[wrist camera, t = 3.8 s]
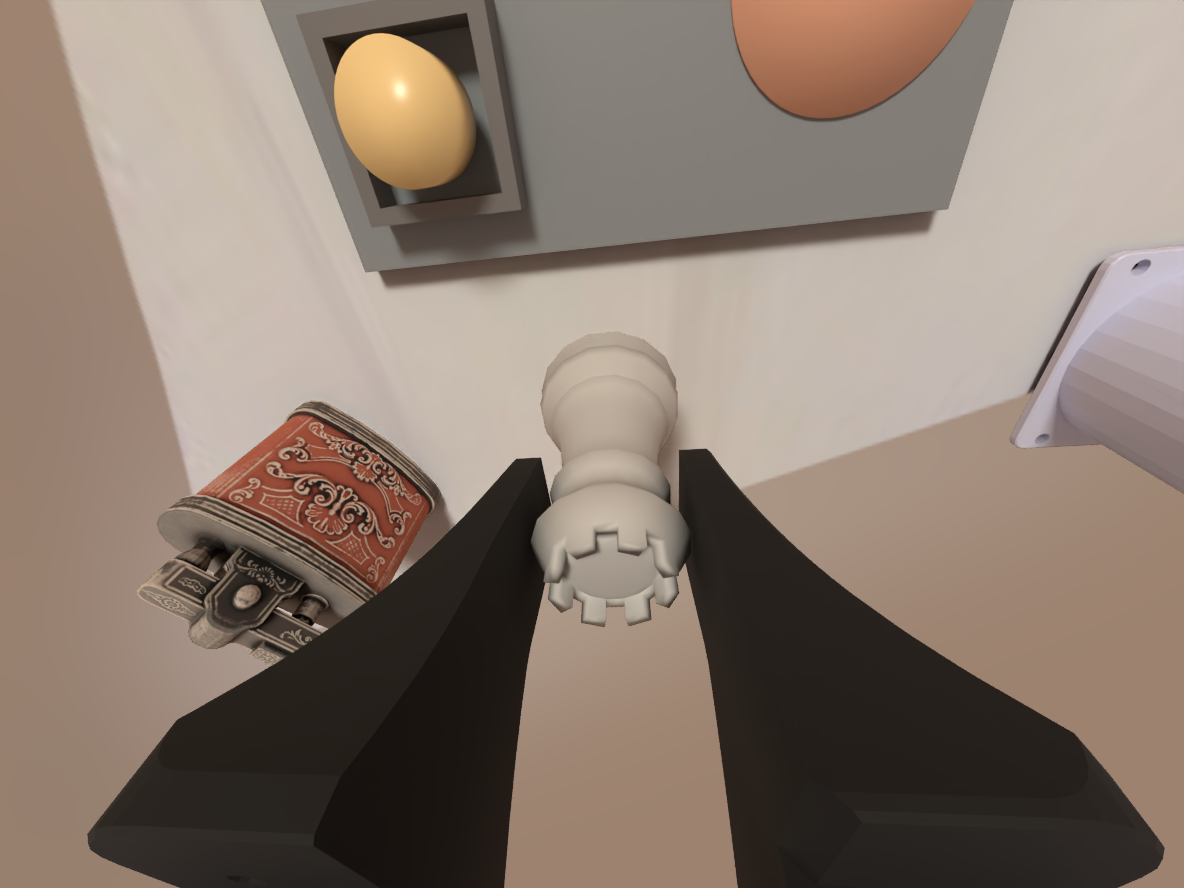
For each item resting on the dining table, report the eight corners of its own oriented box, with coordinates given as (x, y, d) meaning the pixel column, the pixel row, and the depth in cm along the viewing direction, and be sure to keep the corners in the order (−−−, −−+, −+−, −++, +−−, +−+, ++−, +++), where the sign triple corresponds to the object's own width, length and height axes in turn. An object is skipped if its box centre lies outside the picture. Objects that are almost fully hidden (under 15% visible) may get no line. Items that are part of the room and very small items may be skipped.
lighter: (282, 425, 21) (64, 601, 13) (315, 386, 20) (95, 554, 11) (416, 518, 24) (311, 707, 16) (453, 490, 23) (358, 681, 15)
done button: (458, 38, 11) (437, 23, 10) (488, 179, 13) (473, 181, 12) (346, 56, 12) (311, 44, 10) (390, 191, 13) (364, 196, 12)
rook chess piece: (686, 427, 15) (748, 636, 9) (569, 456, 16) (543, 666, 9) (658, 307, 13) (715, 468, 6) (523, 349, 14) (446, 528, 7)
